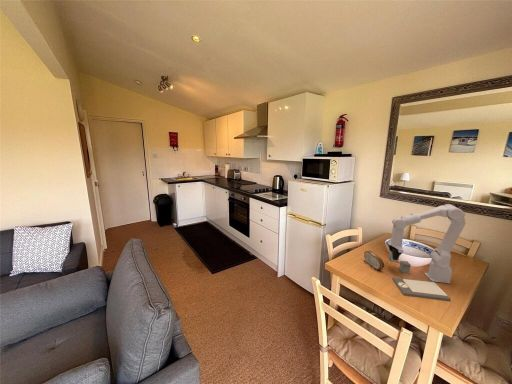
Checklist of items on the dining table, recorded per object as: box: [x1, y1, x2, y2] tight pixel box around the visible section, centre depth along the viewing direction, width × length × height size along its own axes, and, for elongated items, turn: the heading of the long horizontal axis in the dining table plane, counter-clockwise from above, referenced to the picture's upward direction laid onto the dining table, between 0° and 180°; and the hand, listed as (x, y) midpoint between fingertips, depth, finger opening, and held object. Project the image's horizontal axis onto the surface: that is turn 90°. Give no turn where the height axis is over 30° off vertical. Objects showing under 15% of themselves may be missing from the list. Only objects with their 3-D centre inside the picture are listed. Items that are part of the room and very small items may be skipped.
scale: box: [391, 276, 451, 302], centre depth 115 cm, size 21×14×2 cm, turn 79°
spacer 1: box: [388, 249, 400, 263], centre depth 131 cm, size 4×4×6 cm
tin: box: [363, 250, 385, 271], centre depth 136 cm, size 15×3×8 cm, turn 10°
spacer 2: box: [398, 260, 412, 275], centre depth 131 cm, size 4×4×6 cm
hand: (393, 257), depth 131 cm, fingers closed on spacer 1, 4 cm apart
